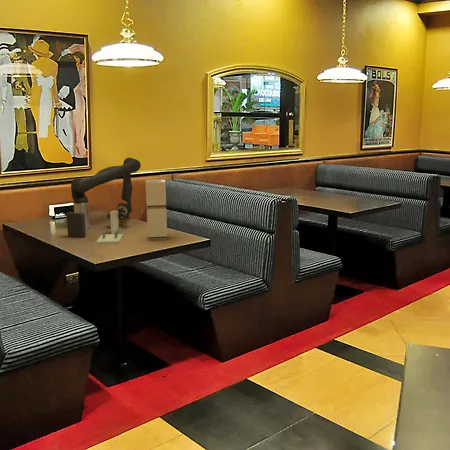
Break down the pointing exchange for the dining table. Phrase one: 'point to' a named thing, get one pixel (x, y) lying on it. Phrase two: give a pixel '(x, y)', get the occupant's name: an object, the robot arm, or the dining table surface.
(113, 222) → the block
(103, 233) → the pin tray
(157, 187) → the beige rectangular tower
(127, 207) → the robot arm
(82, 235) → the dark brown upright block
